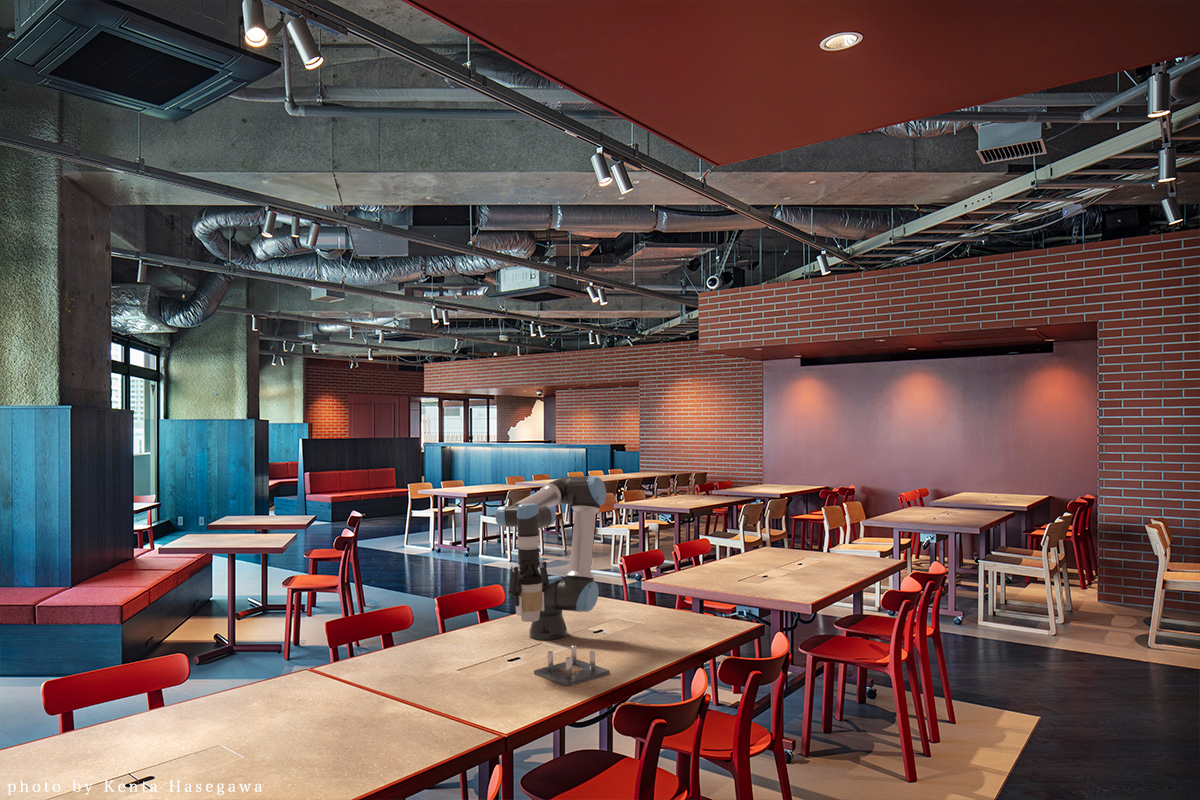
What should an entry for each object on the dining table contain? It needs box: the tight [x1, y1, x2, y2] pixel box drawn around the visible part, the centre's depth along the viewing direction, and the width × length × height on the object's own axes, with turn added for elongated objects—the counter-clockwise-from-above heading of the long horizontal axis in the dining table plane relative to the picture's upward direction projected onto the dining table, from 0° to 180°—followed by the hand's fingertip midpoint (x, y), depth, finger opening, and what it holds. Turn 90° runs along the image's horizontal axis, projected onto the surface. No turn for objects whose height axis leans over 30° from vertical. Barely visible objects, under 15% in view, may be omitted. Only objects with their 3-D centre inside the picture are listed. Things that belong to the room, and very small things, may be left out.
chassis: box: [533, 645, 611, 687], centre depth 243 cm, size 18×18×7 cm
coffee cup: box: [517, 574, 544, 623], centre depth 255 cm, size 10×10×15 cm
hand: (530, 612), depth 255 cm, fingers closed on coffee cup, 9 cm apart
